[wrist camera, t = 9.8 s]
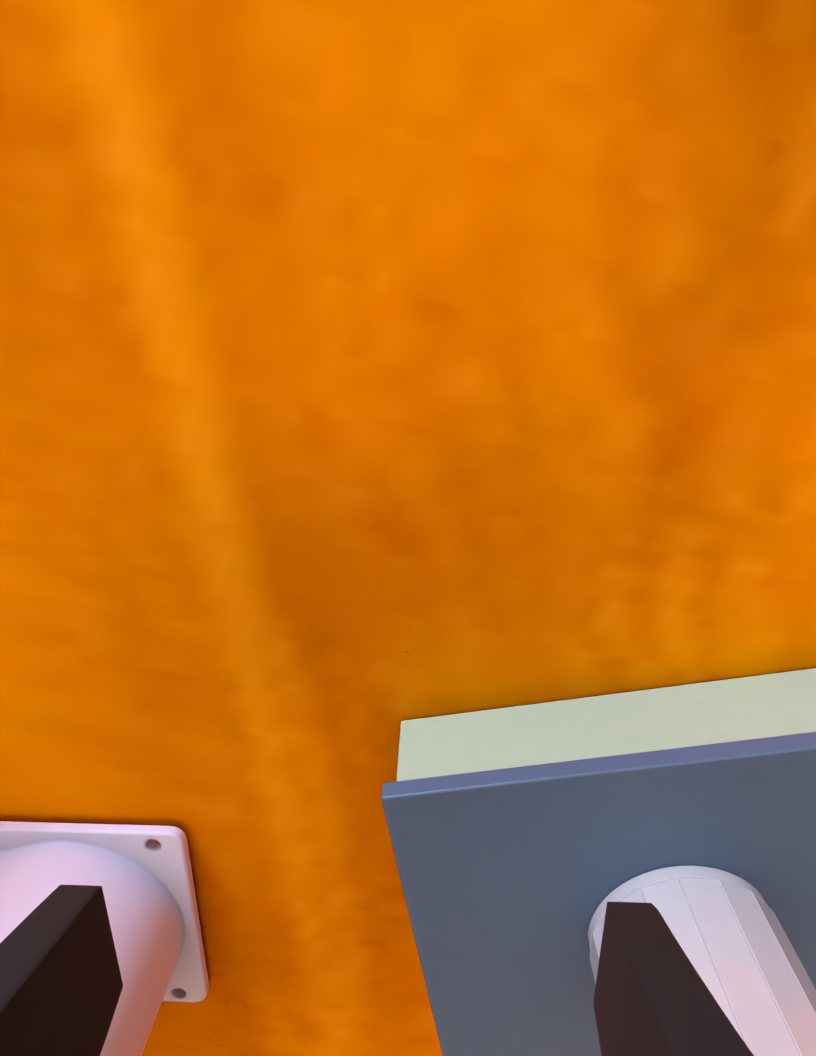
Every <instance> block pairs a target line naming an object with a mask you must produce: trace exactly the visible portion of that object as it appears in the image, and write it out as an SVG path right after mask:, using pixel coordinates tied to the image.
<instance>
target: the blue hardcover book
mask: <svg viewBox="0 0 816 1056" xmlns="http://www.w3.org/2000/svg"><path fill="white" fill-rule="evenodd" d="M381 800H382V804H383V808H384V812H385V817H386V821H387V825H388V829H389V833H390V837H391V842H392V846H393V850H394V854H395V858H396V862H397V867H398V871H399V875H400V879H401V883H402V887H403V892H404V896H405V900H406V904H407V908H408V912H409V917H410V921H411V925H412V929H413V933H414V937H415V942H416V946H417V950H418V954H419V958H420V963H421V967H422V971H423V975H424V979H425V983H426V988H427V992H428V996H429V1000H430V1004H431V1008H432V1013H433V1017H434V1021H435V1025H436V1029H437V1033H438V1038H439V1042H440V1046H441V1050H442V1054H443V1056H602V1055H601V1049H600V1043H599V1036H598V1030H597V1024H596V1017H595V1011H594V1004H593V1001H594V994H595V987H596V985H595V981H594V976H593V972H592V967H591V963H590V958H589V957H590V952H589V947H588V929H589V925H590V921H591V919H592V916H593V914H594V912H595V911H596V909H597V907H598V906H599V905H600V903H601V902H602V901H603V900H604V898H605V897H606V896H608V895H609V894H610V893H611V892H612V891H613V890H614V889H616V888H617V887H618V886H620V885H621V884H623V883H625V882H626V881H628V880H630V879H632V878H634V877H636V876H638V875H641V874H643V873H646V872H649V871H652V870H656V869H660V868H665V867H672V866H684V865H694V866H706V867H711V868H717V869H720V870H723V871H727V872H729V873H732V874H734V875H736V876H739V877H740V878H742V879H744V880H745V881H747V882H748V883H750V884H751V885H752V886H753V887H755V888H756V889H757V890H758V891H759V892H760V893H761V894H762V896H763V897H764V898H765V900H766V901H767V903H768V905H769V907H770V908H771V910H773V911H774V913H775V915H776V916H777V918H778V920H779V922H780V924H781V926H782V928H783V929H784V931H785V933H786V935H787V937H788V939H789V941H790V942H791V944H792V946H793V948H794V950H795V952H796V954H797V955H798V957H799V959H800V961H801V963H802V965H803V967H804V968H805V970H806V972H807V974H808V976H809V978H810V980H811V981H812V983H813V985H814V987H815V989H816V668H813V669H805V670H797V671H789V672H781V673H773V674H765V675H758V676H750V677H742V678H734V679H726V680H718V681H710V682H703V683H695V684H687V685H679V686H671V687H663V688H656V689H648V690H640V691H632V692H624V693H616V694H608V695H601V696H593V697H585V698H577V699H569V700H561V701H553V702H546V703H538V704H530V705H522V706H514V707H506V708H498V709H491V710H483V711H475V712H467V713H459V714H451V715H443V716H436V717H428V718H420V719H412V720H404V721H401V727H400V740H399V753H398V766H397V780H396V782H387V783H383V786H382V795H381Z"/></svg>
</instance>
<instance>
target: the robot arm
mask: <svg viewBox="0 0 816 1056" xmlns="http://www.w3.org/2000/svg"><path fill="white" fill-rule="evenodd" d="M152 839H154V840H157V841H158V842H156V841H154V840H152ZM208 989H209V981H208V974H207V967H206V961H205V954H204V948H203V941H202V934H201V928H200V921H199V914H198V908H197V901H196V895H195V888H194V881H193V875H192V868H191V861H190V855H189V848H188V842H187V837H186V834H185V833H184V832H183V831H182V830H181V829H180V828H178V827H174V826H157V825H121V824H85V823H49V822H12V821H0V1056H142V1054H143V1051H144V1048H145V1046H146V1043H147V1040H148V1038H149V1035H150V1032H151V1030H152V1027H153V1025H154V1022H155V1019H156V1017H157V1014H158V1011H159V1009H160V1006H161V1003H162V1001H169V1002H200V1001H202V1000H204V999H205V997H206V995H207V992H208ZM593 1004H594V1011H595V1017H596V1024H597V1030H598V1036H599V1043H600V1049H601V1055H602V1056H754V1055H753V1054H752V1052H751V1051H750V1049H749V1048H748V1047H747V1045H746V1044H745V1042H744V1041H743V1040H742V1038H741V1037H740V1035H739V1034H738V1032H737V1031H736V1029H735V1028H734V1027H733V1025H732V1024H731V1022H730V1021H729V1019H728V1018H727V1016H726V1015H725V1013H724V1012H723V1010H722V1009H721V1007H720V1006H719V1004H718V1003H717V1001H716V1000H715V998H714V997H713V995H712V994H711V992H710V991H709V989H708V988H707V986H706V985H705V983H704V982H703V980H702V979H701V977H700V976H699V974H698V973H697V971H696V970H695V968H694V966H693V965H692V963H691V962H690V960H689V959H688V957H687V956H686V954H685V952H684V951H683V949H682V948H681V946H680V945H679V943H678V941H677V940H676V938H675V936H674V935H673V933H672V932H671V930H670V928H669V927H668V925H667V924H666V922H665V920H664V919H663V917H662V915H661V914H660V912H659V910H658V909H657V908H656V907H655V906H654V905H653V904H652V903H639V902H607V906H606V913H605V920H604V928H603V935H602V942H601V950H600V957H599V965H598V972H597V979H596V987H595V994H594V1001H593Z"/></svg>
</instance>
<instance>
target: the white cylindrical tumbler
mask: <svg viewBox="0 0 816 1056" xmlns="http://www.w3.org/2000/svg"><path fill="white" fill-rule="evenodd" d="M607 902H639V903H652V904H653V905H654V906H655V907H656V908H657V909H658V910H659V912H660V914H661V915H662V917H663V919H664V920H665V922H666V924H667V925H668V927H669V928H670V930H671V932H672V933H673V935H674V936H675V938H676V940H677V941H678V943H679V945H680V946H681V948H682V949H683V951H684V952H685V954H686V956H687V957H688V959H689V960H690V962H691V963H692V965H693V966H694V968H695V970H696V971H697V973H698V974H699V976H700V977H701V979H702V980H703V982H704V983H705V985H706V986H707V988H708V989H709V991H710V992H711V994H712V995H713V997H714V998H715V1000H716V1001H717V1003H718V1004H719V1006H720V1007H721V1009H722V1010H723V1012H724V1013H725V1015H726V1016H727V1018H728V1019H729V1021H730V1022H731V1024H732V1025H733V1027H734V1028H735V1029H736V1031H737V1032H738V1034H739V1035H740V1037H741V1038H742V1040H743V1041H744V1042H745V1044H746V1045H747V1047H748V1048H749V1049H750V1051H751V1052H752V1054H753V1055H754V1056H816V989H815V987H814V985H813V983H812V981H811V980H810V978H809V976H808V974H807V972H806V970H805V968H804V967H803V965H802V963H801V961H800V959H799V957H798V955H797V954H796V952H795V950H794V948H793V946H792V944H791V942H790V941H789V939H788V937H787V935H786V933H785V931H784V929H783V928H782V926H781V924H780V922H779V920H778V918H777V916H776V915H775V913H774V911H773V910H771V908H770V907H769V905H768V903H767V901H766V900H765V898H764V897H763V896H762V894H761V893H760V892H759V891H758V890H757V889H756V888H755V887H753V886H752V885H751V884H750V883H748V882H747V881H745V880H744V879H742V878H740V877H739V876H736V875H734V874H732V873H729V872H727V871H723V870H720V869H717V868H711V867H706V866H694V865H684V866H672V867H665V868H660V869H656V870H652V871H649V872H646V873H643V874H641V875H638V876H636V877H634V878H632V879H630V880H628V881H626V882H625V883H623V884H621V885H620V886H618V887H617V888H616V889H614V890H613V891H612V892H611V893H610V894H609V895H608V896H606V897H605V898H604V900H603V901H602V902H601V903H600V905H599V906H598V907H597V909H596V911H595V912H594V914H593V916H592V919H591V921H590V925H589V929H588V947H589V952H590V957H589V958H590V963H591V967H592V972H593V976H594V981H595V985H596V979H597V972H598V965H599V957H600V950H601V942H602V935H603V928H604V920H605V913H606V906H607Z"/></svg>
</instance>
